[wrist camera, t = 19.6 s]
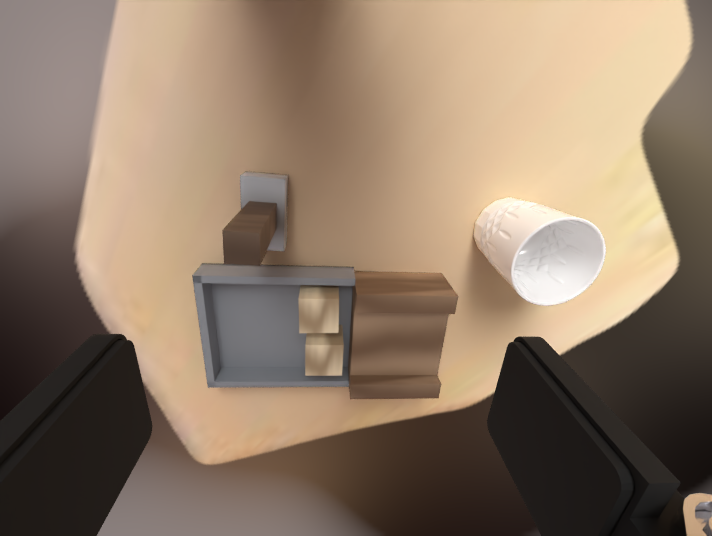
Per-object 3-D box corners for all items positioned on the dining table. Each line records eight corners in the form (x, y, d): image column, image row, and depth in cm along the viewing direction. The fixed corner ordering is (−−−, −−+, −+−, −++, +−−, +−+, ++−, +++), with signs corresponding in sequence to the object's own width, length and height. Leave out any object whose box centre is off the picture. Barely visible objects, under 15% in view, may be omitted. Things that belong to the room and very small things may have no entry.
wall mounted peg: (245, 171, 34) (209, 197, 23) (288, 174, 34) (270, 202, 24) (247, 240, 37) (215, 291, 26) (286, 242, 37) (270, 293, 27)
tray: (202, 263, 37) (192, 275, 35) (353, 267, 39) (355, 278, 36) (215, 369, 43) (207, 387, 40) (347, 369, 44) (348, 386, 42)
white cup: (494, 178, 36) (551, 200, 27) (554, 210, 38) (626, 241, 29) (453, 245, 39) (492, 286, 29) (511, 271, 40) (564, 318, 31)
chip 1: (338, 281, 39) (301, 281, 38) (339, 298, 35) (298, 299, 35) (337, 312, 40) (302, 313, 40) (338, 332, 37) (299, 333, 36)
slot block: (353, 271, 39) (356, 294, 34) (441, 273, 40) (458, 296, 35) (347, 366, 44) (350, 399, 39) (426, 366, 45) (438, 398, 40)
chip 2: (342, 324, 41) (307, 324, 41) (343, 345, 37) (305, 345, 37) (340, 353, 43) (307, 352, 42) (341, 375, 39) (305, 375, 39)
